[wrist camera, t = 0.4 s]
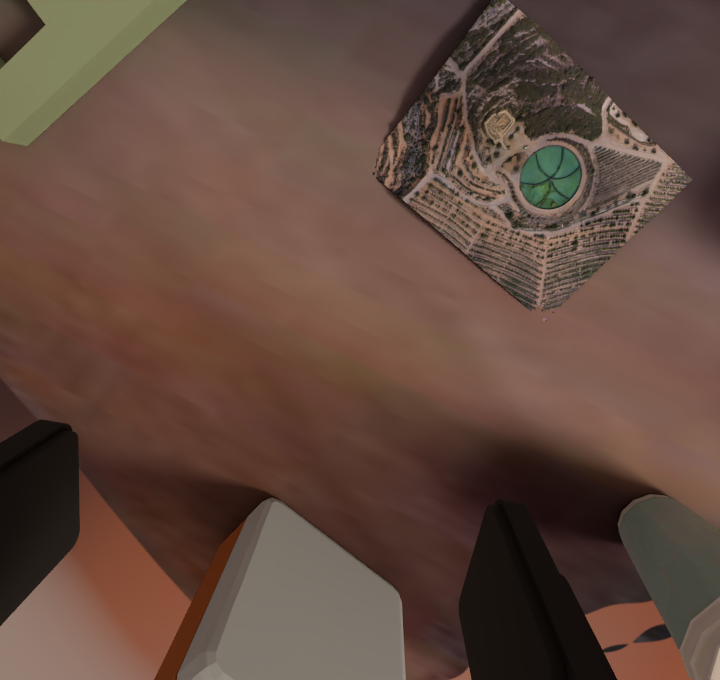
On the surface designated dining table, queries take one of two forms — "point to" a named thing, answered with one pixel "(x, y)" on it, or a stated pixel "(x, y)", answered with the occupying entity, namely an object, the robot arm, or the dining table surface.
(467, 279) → the dining table surface
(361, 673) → the orange and grey box
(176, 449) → the dining table surface
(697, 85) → the dining table surface
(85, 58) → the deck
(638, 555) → the disposable coffee cup
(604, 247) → the terrain model
